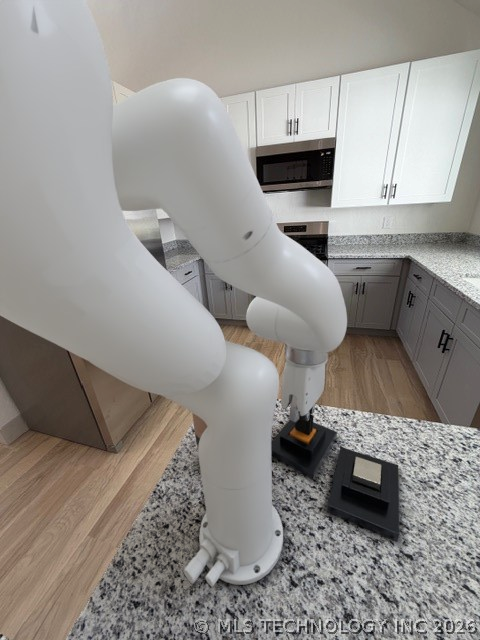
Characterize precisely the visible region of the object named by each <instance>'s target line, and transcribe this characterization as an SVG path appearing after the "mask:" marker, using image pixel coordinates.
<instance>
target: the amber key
mask: <svg viewBox="0 0 480 640" xmlns="http://www.w3.org/2000/svg"><path fill="white" fill-rule="evenodd" d="M315 435H316V429H314V428H313V431H312V432H311V434H310V435H306V434H304V433H302V432H300V431H297V430H296V429H295V427H294V429H293V430H292V431H291V432H290V436H291V437H294V438H296V439H298V440H300V441H302V442H304V443H306V444H308V445H309V443H310V442H311V440H312V439H313V437H314V436H315Z"/></svg>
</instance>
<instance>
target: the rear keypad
mask: <svg viewBox="0 0 480 640" xmlns="http://www.w3.org/2000/svg"><path fill="white" fill-rule="evenodd" d="M294 427H295V422H293V421H291V420H289V419H288V421H287V423H286V424H285V425H284V426H283V427H282V428H281V430H280V431H279V432H278V433H277V434H276V436H274V438H273V439H272V440H271V458H274V459H276V460H278V461H280V462H281V463H282V464H284V465H287V466H288V467H290V468H291V469H294V470H296V471H297V472H299V473H301V474H303V475H305V476H307V477H309V478H311V480H314V479H315V477H316V475H317V474H318V472H319V470H320V468H321V466H322V465H323V463H324V462H325V460H326V457H327V456H328V454H329V452H331V451H330V450H331V449H332V448H333V445H334V443H335V442H336V440H337V438H338V437H337V436H338V431H336V430H333V429H331V428H328V427H326V426H324V425H321V424H319V423H317V422H314V421H313V428H314V429H316V435H315V436H314V437H313V439H312V440H311V442H310V443H309V445H308V444H306V443H304V442H302V441H300V440H298V439H296V438H294V437H291V436H290V432H291V431H292V430H293V429H294Z"/></svg>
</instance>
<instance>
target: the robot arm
mask: <svg viewBox="0 0 480 640" xmlns="http://www.w3.org/2000/svg"><path fill="white" fill-rule="evenodd" d="M100 33H101V32H100V30H99V28H98V25H97V23H96V20H95V18H94V15H93V13H92V11H91V9H90V7H89V5H88V3H87V1H86V0H0V317H2V318H4V319H6V320H8V321H10V322H11V323H13V324H15V325H17V326H19V327H21V328H23V329H25V330H26V331H28V332H31V333H32V334H35V335H36V336H39V337H40V338H42V339H44V340H46V341H49V342H51V343H53V344H55V345H57V346H58V347H61V348H62V349H64V350H66V351H68V352H69V353H72V354H73V355H75V356H77V357H79V358H82V359H84V360H86V361H87V362H89V363H90V364H92V365H93V366H95V367H96V368H99V369H100V370H101V371H103V372H105V373H107V374H108V375H110V376H112V377H114V378H116V379H118V380H119V381H121V382H123V383H125V384H127V385H129V386H131V387H134V388H136V389H138V390H141V391H143V392H147V393H151V394H154V395H158V396H161V397H163V398H165V399H167V400H169V401H171V402H173V403H175V404H177V405H179V406H181V407H183V408H184V409H186V410H187V411H188V412H189V413H191V414H192V413H193V414H195V415H197V416H198V417H200V418H201V419H202V420H203V421H204V422H205V423H206V425H207V428H206V430H205V431H204V432H203V434H202V436H201V438H200V441H199V446H198V448H197V454H198V455H197V456H198V464H199V469H200V475H201V476H200V477H201V484H202V490H203V498H204V506H205V513H204V515H203V518H202V520H201V523H200V528H199V535H198V536H199V537H198V538H199V539H198V541H199V550H198V551H197V553H196V554H195V555H194V556H193V557H192V559H191V560H190V561H189V562H188V563H187V565H185V567H184V568H183V570H182V571H183V574H184V576H185V577H186V579H187V580H188V582H190V583H191V584H195V582H196V581H197V579H198V578H199V577H200V576H201V574H202V572H204V569H205V567H206V566H207V568H208V569H209V571H208V572H207V573H206V575H205V576H204V577H205V578H204V579H205V581H206V583H207V584H208V585H209V586H210V587H211V588H213V587H214V586H215V585H216V583H217V582H218V580H219V579H220V581H223V582H225V583H228V584H231V585H234V586H235V585H242V586H245V585H249V584H254V583H256V582H257V581H260V580H262V579H263V578H265V577H266V576H267V575H268V574H269V573H270V572H271V571H272V570H273V568H275V566H276V564H277V563H278V561H279V559H280V557H281V553H282V550H283V545H284V528H283V522H282V520H281V519H282V518H281V516H280V515H279V512H278V510H277V508H276V507H275V506H274V505H273V465H272V464H273V462H272V461H273V460H272V459H273V458H272V456H271V442H272V434H273V423H274V417H275V412H276V407H277V401H278V398H279V392H280V391H279V390H280V375H279V371H278V369H277V367H276V366H275V363H274V362H273V361H272V360H271V359H270V358H269V357H267V356H266V355H265V354H263V353H262V352H260V351H258V350H256V349H255V348H254V349H253V348H251V347H248V346H246V345H243V344H240V343H237V342H232V341H229V340H226V339H225V336H224V333H223V331H222V328H221V326H220V325H219V323H218V321H217V320H216V318H215V317H214V316H213V314H211V312H210V311H209V310H208V309H207V308H206V307H205V305H203V303H201V302H200V301H199V300H198V299H197V298H196V297H195V296H194V295H193V294H191V292H190V291H189V290H188V289H186V287H185V286H184V285H182V284H181V282H179V281H178V280H177V279H176V278H175V277H174V276H173V275H172V274H171V273H170V272H169V271H168V270H167V268H165V267H164V266H163V265H162V264H161V263H160V262H159V261H158V260H157V259H156V258H155V256H153V254H151V252H150V251H149V250H148V249H147V248H146V247H145V246H144V244H143V243H142V242H141V241H140V239H139V238H138V236H137V235H136V234H135V233H134V231H133V230H132V228H131V226H130V225H129V224H128V222H127V219H126V217H125V214H124V212H139V211H149V210H159V209H160V210H162V211H163V212H164V213H166V215H167V216H168V217H169V218H170V220H171V221H172V222H173V224H174V225H175V227H177V228H178V230H179V231H180V232H181V233H182V235H183V236H184V237H185V238H186V240H187V241H188V242H189V243H190V245H191V246H192V247H193V248H194V249H195V251H196V252H197V253H198V255H199V256H200V257H201V259H202V260H203V261H204V263H205V264H206V265H207V266H208V267H209V269H210V270H211V271H212V273H213V274H214V275H215V276H216V277H217V278H219V280H221V281H223V282H224V283H226V284H228V285H230V286H232V287H234V288H236V289H237V290H240V291H242V292H245V293H246V294H248V295H252V296H255V297H254V298H253V299H252V300H251V302H250V303H249V304H248V308H247V309H246V314H245V322H246V325H247V327H248V329H249V330H250V332H251V333H253V334H254V335H255V336H257V337H259V338H261V339H265V340H269V341H272V342H276V343H280V344H285V347H284V348H285V349H284V350H285V355H284V357H285V360H286V361H285V363H284V367H283V372H282V381H281V394H280V395H281V396H280V405H281V406H280V407H281V408H282V409H283V410H287V409H288V407H290V408H289V415H288V421H289V420H291V421H293V422H295V429H296V430H297V431H300V432H302V433H304V434H306V435H310V434H311V432H312V431H313V422H314V413H315V409H316V403H317V402H318V400H319V399H320V398H321V396H322V395H323V392H324V391H325V382H326V364H327V362H328V361H329V353H330V352H332V351H335V350H336V349H338V347H339V346H340V345H341V344H342V342H343V341H344V338H345V336H346V332H347V327H348V312H347V306H346V303H345V298H344V296H343V291H342V287H341V284H340V283H339V279H338V278H337V277H336V275H335V274H334V273H333V271H332V270H331V269H330V268H329V267H328V266H327V265H326V264H325V263H324V262H323V261H321V260H320V259H319V258H317V257H316V256H315V255H314V254H313V253H311V252H310V251H309V250H307V248H305V247H304V246H303V245H301V244H300V243H299V242H297V241H296V240H293V238H291V237H289V236H287V235H286V234H285V233H283V232H282V231H281V230H280V228H279V226H278V224H277V221H276V219H275V217H274V214H273V212H272V210H271V208H270V206H269V203H268V201H267V198H266V197H265V194H264V192H263V189H262V188H261V185H260V183H259V180H258V178H257V176H256V174H255V170H254V168H253V166H252V164H251V161H250V160H249V157H248V155H247V152H246V150H245V147H244V146H243V143H242V142H241V139H240V136H239V135H238V132H237V129H236V128H235V125H234V123H233V121H232V118H231V116H230V114H229V112H228V110H227V108H226V106H225V105H224V103H223V101H222V99H221V98H220V97H219V95H218V94H217V93H216V92H215V91H214V90H213V89H212V88H211V87H210V86H208V85H207V84H205V83H204V82H202V81H199V80H197V79H194V78H188V77H176V78H170V79H167V80H163V81H160V82H156V83H154V84H152V85H148V86H146V87H145V88H142V89H140V90H139V91H137V92H135V93H133V94H130V95H129V96H127V97H126V98H124V99H122V100H120V101H119V102H117V103H116V104H114V93H113V84H112V83H113V82H112V76H111V70H110V64H109V61H108V58H107V57H108V56H107V54H106V50H105V49H106V48H105V46H104V43H103V39H102V36H101V34H100Z"/></svg>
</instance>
